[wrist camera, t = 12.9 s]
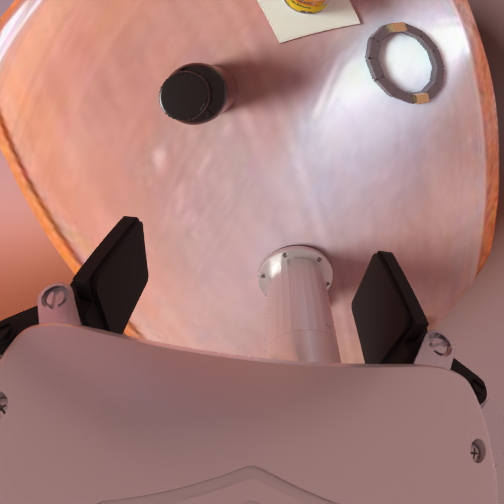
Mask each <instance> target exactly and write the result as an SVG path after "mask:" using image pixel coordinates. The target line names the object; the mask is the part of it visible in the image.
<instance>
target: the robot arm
mask: <svg viewBox="0 0 504 504" xmlns="http://www.w3.org/2000/svg"><path fill="white" fill-rule="evenodd" d="M147 281H148V268H147V260H146V251H145V242H144V232H143V223H142V222H141V221H139V219H138V218H137V217H129V216H124V217H123V218H122V219H121V220H120V221H119V222H118V223H117V224H116V226H115V227H114V228H113V229H112V230H111V231H110V233H109V234H108V235H107V236H106V237H105V238H104V240H103V241H102V242H101V243H100V244H99V246H98V247H97V248H96V249H95V251H94V252H93V253H92V254H91V256H90V257H89V258H88V259H87V261H86V262H85V263H84V264H83V266H82V267H81V268H80V270H79V271H78V272H77V274H76V275H75V276H74V278H73V281H72V283H71V284H70V285H68V284H66V283H55V284H51V285H49V286H47V287H46V288H45V289H44V290H43V291H42V292H41V293H40V295H39V297H38V302H37V303H38V306H35V307H33V308H30V309H28V310H25V311H23V312H20V313H18V314H16V315H13V316H11V317H8V318H6V319H4V320H2V321H0V504H498V491H497V480H496V479H497V478H496V471H495V467H496V466H497V464H498V462H499V460H500V459H501V457H502V455H503V454H504V417H503V415H502V414H501V412H500V411H499V410H498V408H497V407H496V406H495V404H494V403H493V402H492V401H491V400H490V398H488V399H487V400H486V396H487V391H486V387H485V384H484V382H483V381H482V380H481V379H480V378H479V377H478V376H477V375H475V374H474V373H473V372H471V371H470V370H469V369H468V368H466V367H465V366H464V365H462V364H461V363H460V362H458V361H457V360H456V359H454V353H455V348H454V345H453V343H452V341H451V339H450V338H449V337H448V336H447V335H446V334H444V333H443V332H441V331H438V330H430V331H427V328H426V327H427V326H428V325H429V323H428V321H427V319H426V317H425V315H424V313H423V310H422V308H421V306H420V304H419V302H418V300H417V298H416V296H415V294H414V292H413V290H412V288H411V286H410V284H409V282H408V280H407V279H406V277H405V275H404V273H403V271H402V269H401V267H400V266H399V264H398V262H397V260H396V258H395V257H394V255H393V254H392V253H391V252H384V251H378V252H377V254H374V255H373V256H372V259H371V261H370V263H369V266H368V268H367V270H366V273H365V275H364V277H363V279H362V282H361V284H360V286H359V288H358V290H357V293H356V295H355V297H354V299H353V301H352V312H353V316H354V320H355V324H356V327H357V331H358V335H359V339H360V344H361V348H362V352H363V356H364V361H365V364H345V363H341V359H340V353H339V347H338V342H337V337H336V331H335V326H334V321H333V315H332V310H331V305H330V300H329V296H328V289H329V288H330V286H331V284H332V281H333V271H332V267H331V264H330V262H329V260H328V258H327V257H326V256H325V255H324V254H322V253H321V252H319V251H318V250H316V249H313V248H311V247H306V246H289V247H285V248H282V249H279V250H277V251H275V252H274V253H272V254H271V255H269V256H268V257H267V258H266V259H265V260H264V262H263V263H262V265H261V267H260V270H259V276H258V281H259V286H260V288H261V290H262V292H263V293H264V294H265V296H266V297H267V329H266V358H257V357H248V356H239V355H232V354H224V353H217V352H211V351H204V350H198V349H192V348H186V347H180V346H175V345H170V344H164V343H159V342H154V341H150V340H145V339H140V338H136V337H131V336H126V335H122V334H123V332H124V330H125V327H126V325H127V323H128V321H129V319H130V317H131V314H132V312H133V310H134V308H135V306H136V304H137V302H138V300H139V298H140V296H141V294H142V292H143V290H144V288H145V286H146V284H147Z"/></svg>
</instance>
